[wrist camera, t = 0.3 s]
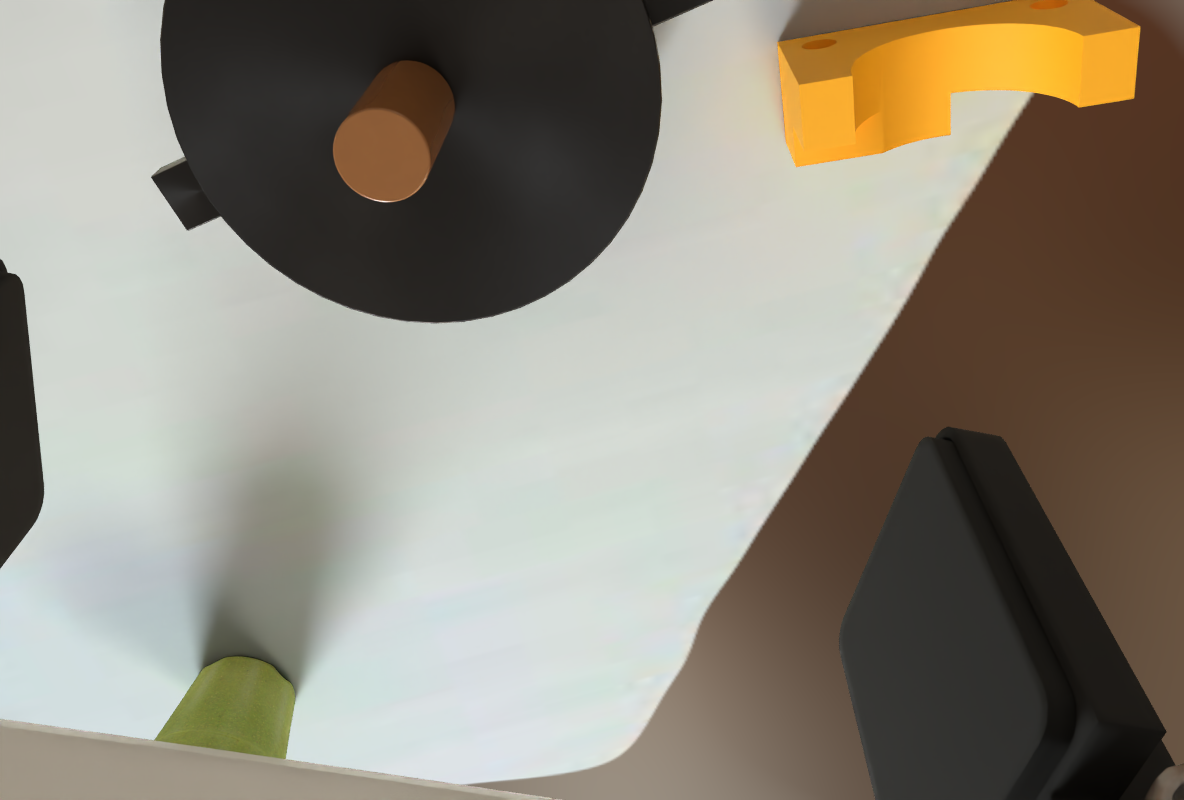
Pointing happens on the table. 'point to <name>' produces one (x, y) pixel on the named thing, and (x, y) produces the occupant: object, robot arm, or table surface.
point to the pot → (198, 210)
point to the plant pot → (235, 709)
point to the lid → (417, 140)
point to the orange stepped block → (946, 71)
